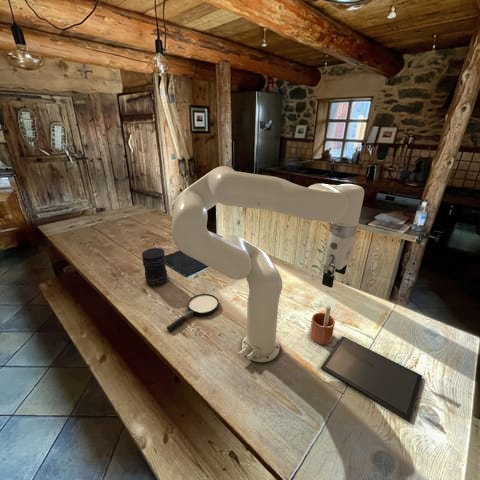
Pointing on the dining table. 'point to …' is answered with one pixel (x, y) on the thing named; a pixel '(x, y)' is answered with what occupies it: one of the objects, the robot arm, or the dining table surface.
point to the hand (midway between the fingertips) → (333, 279)
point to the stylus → (327, 316)
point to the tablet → (374, 376)
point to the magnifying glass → (197, 308)
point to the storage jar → (154, 267)
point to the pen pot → (321, 329)
